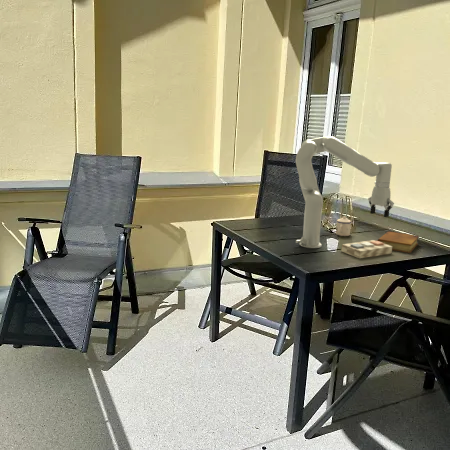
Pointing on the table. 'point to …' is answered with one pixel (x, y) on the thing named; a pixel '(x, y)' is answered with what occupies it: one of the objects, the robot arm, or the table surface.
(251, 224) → the table surface
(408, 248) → the diary
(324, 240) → the table surface
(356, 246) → the key slate
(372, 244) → the key offwhite
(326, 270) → the table surface
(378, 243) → the key terracotta
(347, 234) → the teacup with lid
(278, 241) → the table surface
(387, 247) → the beige flat block
